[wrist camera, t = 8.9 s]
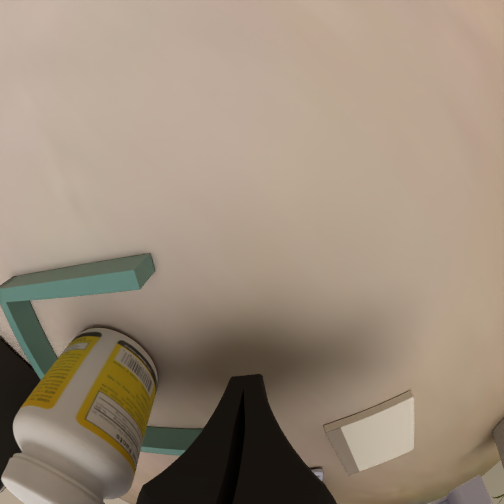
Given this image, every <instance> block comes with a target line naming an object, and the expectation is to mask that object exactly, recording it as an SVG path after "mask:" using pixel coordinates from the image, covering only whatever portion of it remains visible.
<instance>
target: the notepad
mask: <svg viewBox="0 0 504 504" xmlns="http://www.w3.org/2000/svg"><path fill="white" fill-rule="evenodd" d="M324 429H325V433H326V435H327V437H328V439H329V441H330V442H331V444H332V446H333V448H334V450H335V452H336V454H337V455H338V457H339V459H340V461H341V463H342V465H343V466H344V468H345V470H346V472H347V474H348V475H351V474H354V473H357V472H360V471H362V470H365V469H368V468H371V467H373V466H376V465H379V464H381V463H384V462H386V461H389V460H391V459H393V458H396V457H398V456H400V455H403V454H405V453H407V452H409V451H411V450H413V449H414V396H413V394H412V392H411V390H410V391H408V392H406V393H404V394H402V395H399V396H397V397H395V398H393V399H391V400H389V401H386V402H384V403H382V404H380V405H377V406H375V407H372V408H370V409H368V410H365V411H363V412H360V413H357V414H355V415H352V416H349V417H347V418H344V419H341V420H338V421H335V422H333V423H330V424H326V425H324Z"/></svg>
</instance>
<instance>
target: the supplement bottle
mask: <svg viewBox="0 0 504 504" xmlns="http://www.w3.org/2000/svg"><path fill="white" fill-rule="evenodd" d="M157 385H158V376H157V371H156V368H155V366H154V363H153V361H152V360H151V358H150V357H149V355H148V354H147V353H146V351H145V350H144V349H143V348H142V347H141V346H140V345H139V344H137V343H136V342H135V341H134V340H132V339H131V338H129V337H127V336H126V335H124V334H122V333H119V332H117V331H114V330H110V329H105V328H92V329H88V330H85V331H83V332H81V333H80V334H78V335H77V336H76V337H75V338H74V339H73V340H72V342H71V343H70V344H69V345H68V346H67V348H66V349H65V350H64V351H63V353H62V354H61V355H60V356H59V358H58V359H57V360H56V362H55V363H54V364H53V365H52V367H51V368H50V369H49V370H48V372H47V373H46V374H45V376H44V377H43V378H42V380H41V381H40V382H39V383H38V385H37V386H36V387H35V389H34V390H33V391H32V393H31V394H30V396H29V397H28V398H27V400H26V401H25V402H24V404H23V405H22V406H21V408H20V409H19V411H18V413H17V414H16V416H15V418H14V422H13V433H14V437H15V440H16V442H17V444H18V446H19V447H20V449H21V451H22V453H16V454H14V455H13V458H10V459H9V462H8V464H7V466H6V468H5V470H4V472H3V474H2V477H1V480H2V482H3V484H4V485H5V487H6V488H7V489H8V490H9V491H10V492H11V493H13V494H14V495H15V496H16V497H17V498H18V499H19V500H21V501H22V502H23V503H25V504H105V503H104V502H103V499H115V498H119V497H121V496H123V495H125V494H126V493H127V492H128V491H129V489H130V488H131V485H132V482H133V479H134V475H135V471H136V467H137V463H138V458H139V454H140V450H141V447H142V443H143V439H144V435H145V431H146V427H147V424H148V420H149V416H150V413H151V409H152V405H153V402H154V398H155V395H156V390H157Z"/></svg>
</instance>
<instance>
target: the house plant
mask: <svg viewBox="0 0 504 504" xmlns="http://www.w3.org/2000/svg"><path fill="white" fill-rule="evenodd" d="M493 436H494V439H495V442H496V445H497V448H498V451H499V455H500V458H501V461H502V464H503V468H504V418H503V419H502V420H501V422H500V423H499V424H498V425H497V426H496V427H495V429H494V431H493ZM503 495H504V494H503ZM503 495H501V496H498V497H495V498H500V497H502V496H503ZM493 498H494V497H493Z"/></svg>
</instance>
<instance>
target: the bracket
mask: <svg viewBox="0 0 504 504" xmlns="http://www.w3.org/2000/svg"><path fill="white" fill-rule="evenodd" d="M154 271H155V269H154V266H153V262H152V258H151V255H150V253H149V254H143V255H137V256H131V257H125V258H118V259H112V260H106V261H101V262H95V263H89V264H83V265H77V266H71V267H65V268H60V269H54V270H48V271H43V272H37V273H32V274H26V275H21V276H15V277H12V278H10V279H9V280H7V281H6V282H5V283H3V284H2V285H0V305H1V307H2V309H3V312H4V314H5V316H6V318H7V320H8V322H9V325H10V327H11V329H12V331H13V333H14V335H15V337H16V338H17V340H18V342H19V344H20V346H21V348H22V350H23V351H24V353H25V355H26V357H27V359H28V360H29V362H30V364H31V365H32V367H33V369H34V370H35V372H36V373H37V375H38V377H39V378H40V380H42V378H43V377H44V376H45V374H46V373H47V372H48V370H49V369H50V368H51V367H52V365H53V364H54V363H55V362H56V360H57V359H58V358H57V357H56V355H55V353H54V351H53V349H52V348H51V346H50V344H49V342H48V340H47V338H46V336H45V334H44V332H43V330H42V328H41V326H40V324H39V322H38V319H37V317H36V315H35V313H34V311H33V308H32V306H31V304H30V301H29V300H39V299H51V298H62V297H72V296H83V295H93V294H103V293H112V292H122V291H131V290H140V289H141V288H142V286H143V285H144V284H145V283H146V281H147V280H148V279H149V278H150V276H151V275H152V274H153V273H154ZM202 430H203V429H175V428H158V427H146V431H145V435H144V439H143V443H142V447H141V450H140V451H141V452H149V453H157V454H167V455H179V456H181V455H182V454H183V453H184V452H185V451H186V450H187V449H188V447H189V446H190V445H191V444H192V443H193V442H194V440H195V439H196V438H197V437H198V435H199V434H200V433H201V431H202Z"/></svg>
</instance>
